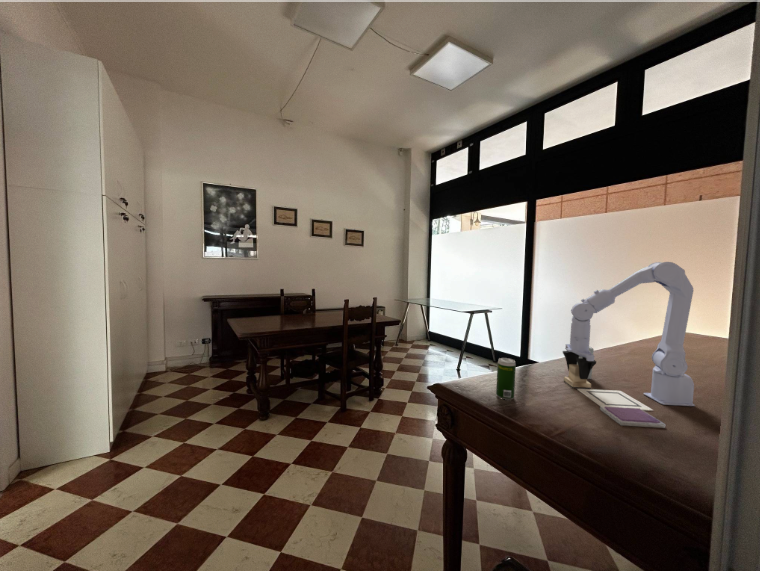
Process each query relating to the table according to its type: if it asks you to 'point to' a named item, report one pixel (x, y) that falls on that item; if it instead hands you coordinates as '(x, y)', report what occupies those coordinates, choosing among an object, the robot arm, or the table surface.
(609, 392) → the paper sheet
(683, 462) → the table surface
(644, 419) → the ink pad
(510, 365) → the green canister
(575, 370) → the wooden stamp
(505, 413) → the table surface
